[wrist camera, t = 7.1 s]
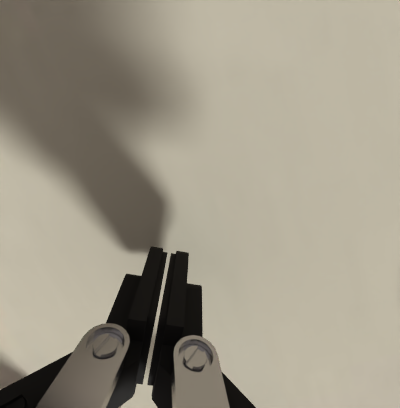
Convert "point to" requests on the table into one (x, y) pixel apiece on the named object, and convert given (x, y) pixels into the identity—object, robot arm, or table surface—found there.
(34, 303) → the table surface
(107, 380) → the robot arm
